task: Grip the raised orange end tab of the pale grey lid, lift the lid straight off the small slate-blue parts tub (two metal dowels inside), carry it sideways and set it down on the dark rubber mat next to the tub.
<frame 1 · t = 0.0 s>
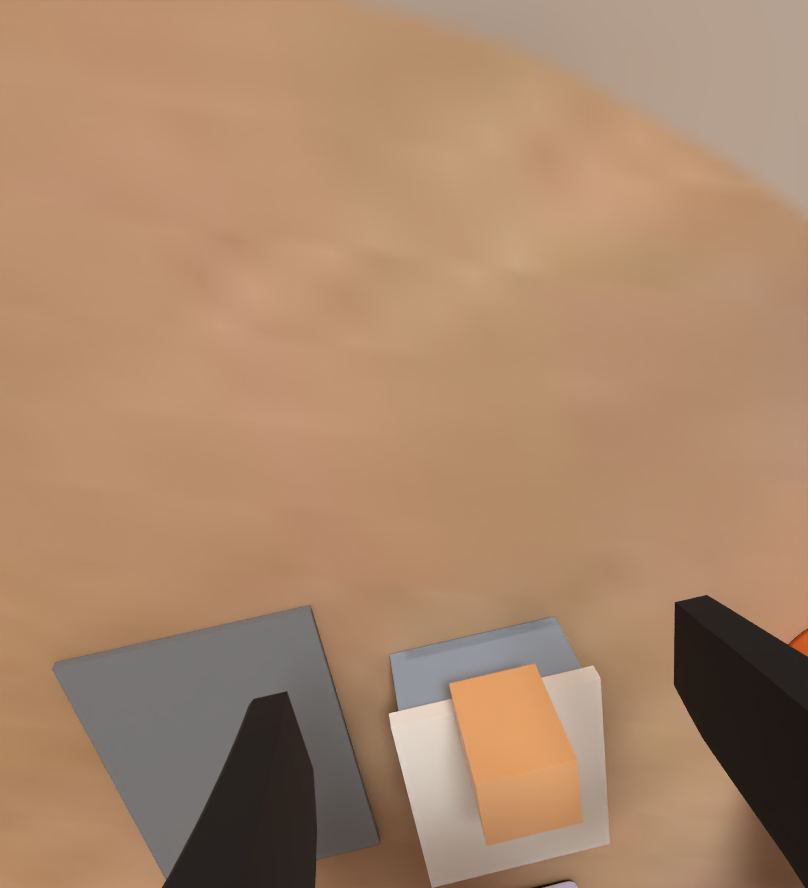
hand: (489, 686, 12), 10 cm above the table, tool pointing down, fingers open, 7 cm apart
tub: (485, 711, 26), on the table
lid: (505, 776, 23), point 3 cm above the table, touching tub
mat: (236, 760, 25), on the table
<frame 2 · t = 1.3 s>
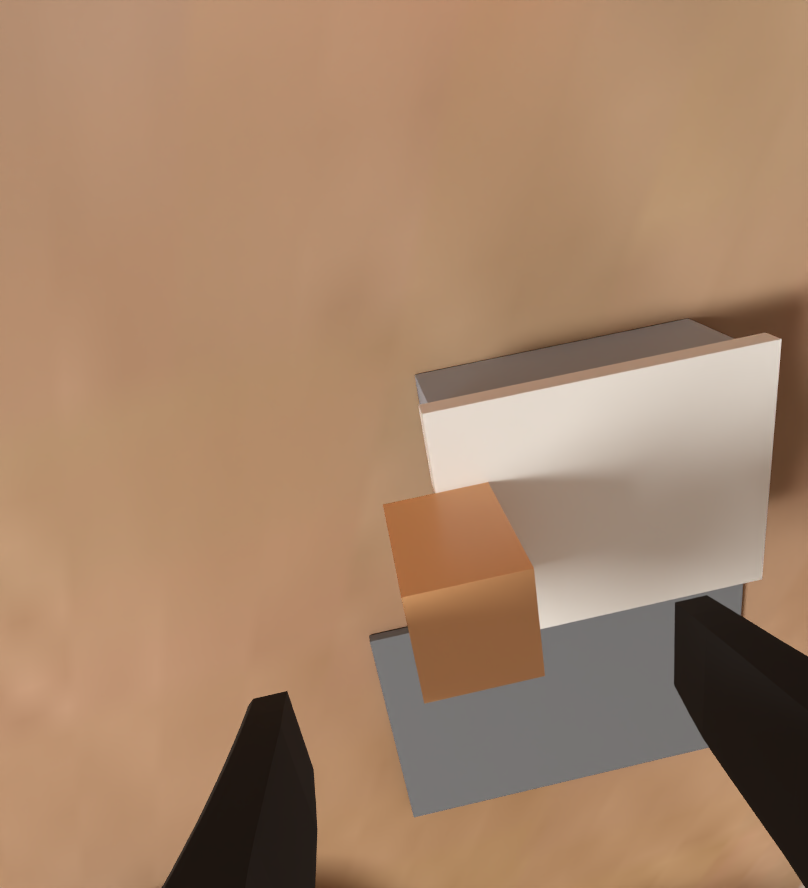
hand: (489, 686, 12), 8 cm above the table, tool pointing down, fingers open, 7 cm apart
tub: (560, 446, 20), on the table
lid: (599, 493, 17), point 3 cm above the table, touching tub
mat: (565, 690, 24), on the table
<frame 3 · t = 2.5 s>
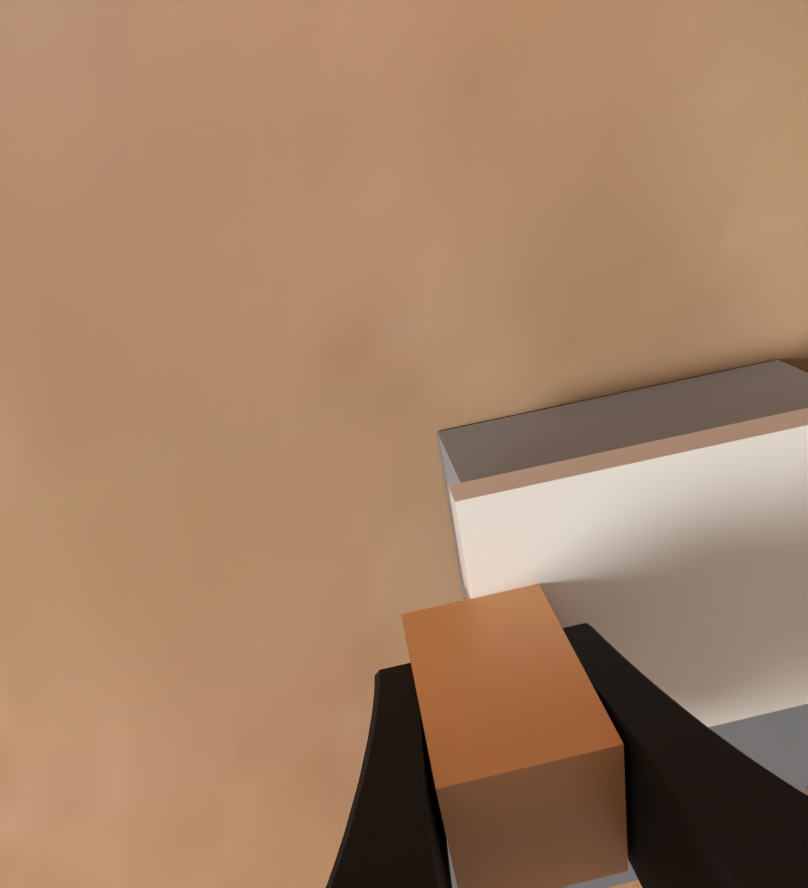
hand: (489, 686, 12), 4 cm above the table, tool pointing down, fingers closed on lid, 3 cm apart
tub: (614, 514, 16), on the table
lid: (676, 588, 13), point 3 cm above the table, touching gripper, tub
mat: (608, 788, 20), on the table
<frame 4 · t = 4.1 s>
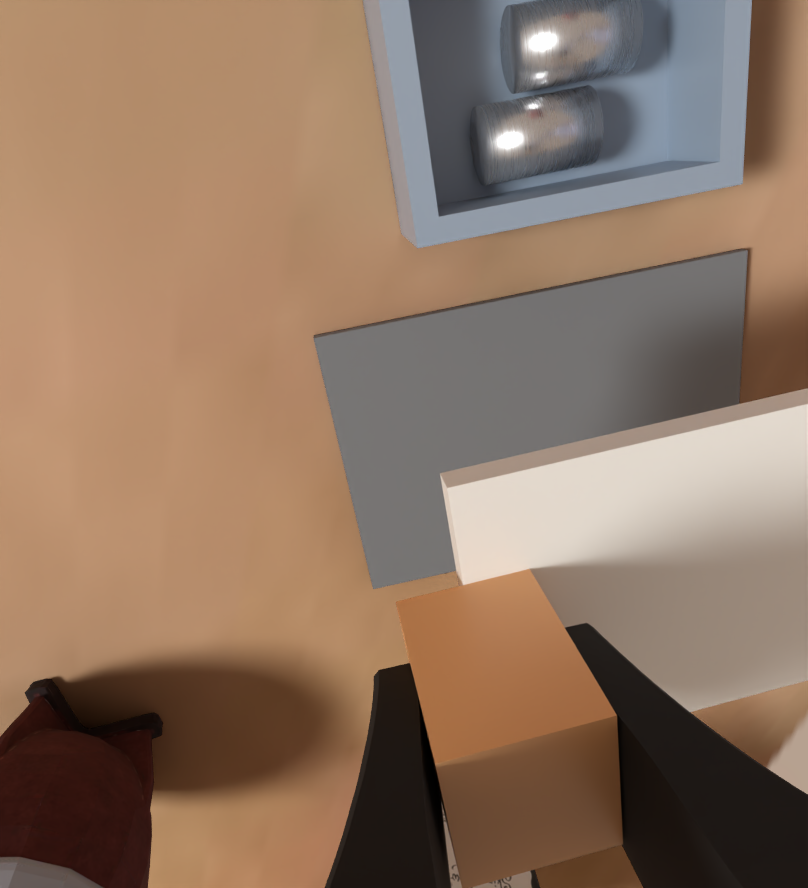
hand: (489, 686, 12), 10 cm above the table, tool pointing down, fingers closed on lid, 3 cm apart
tub: (531, 76, 17), on the table
lid: (662, 573, 14), point 8 cm above the table, touching gripper
mate gourd: (79, 746, 24), on the table
dowel b: (523, 134, 17), resting on tub
mat: (542, 429, 21), on the table
dowel a: (555, 24, 16), point 1 cm above the table, tilted 29°, touching tub
candy bar box: (407, 830, 28), on the table
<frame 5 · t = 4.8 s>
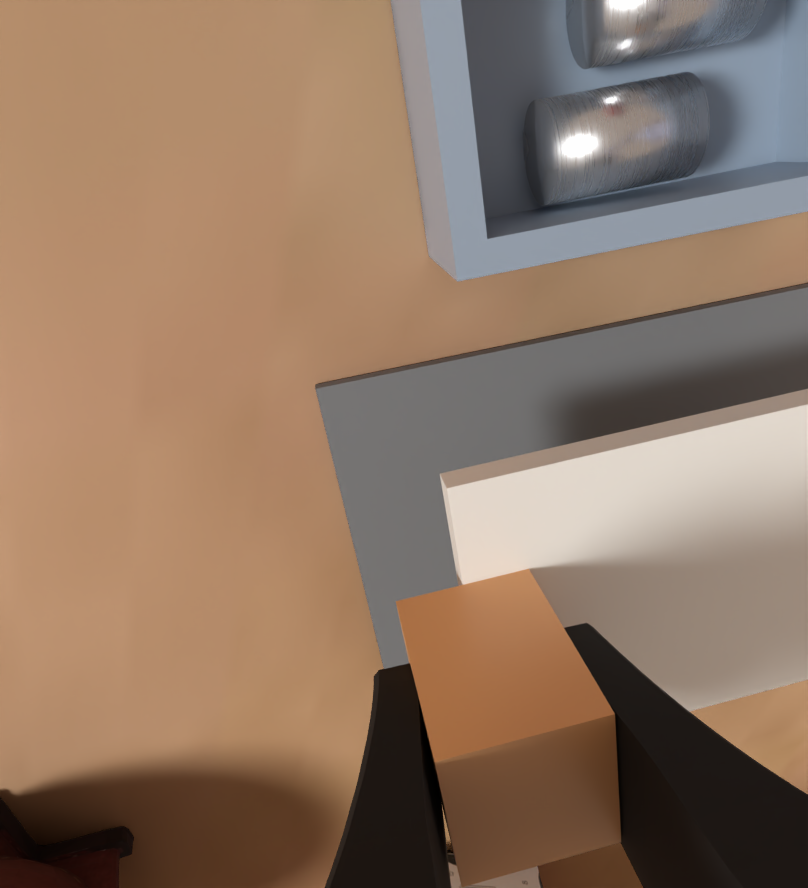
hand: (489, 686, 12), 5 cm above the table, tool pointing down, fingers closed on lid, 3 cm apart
tub: (603, 51, 13), on the table
lid: (661, 573, 14), point 4 cm above the table, touching gripper
mate gourd: (33, 863, 20), on the table
dowel b: (592, 127, 13), point 1 cm above the table, tilted 15°, touching tub
mat: (599, 494, 17), on the table
when the fingers open (3 cm above the table, at t = 5.6 s): lid stays where it is, resting on mat.
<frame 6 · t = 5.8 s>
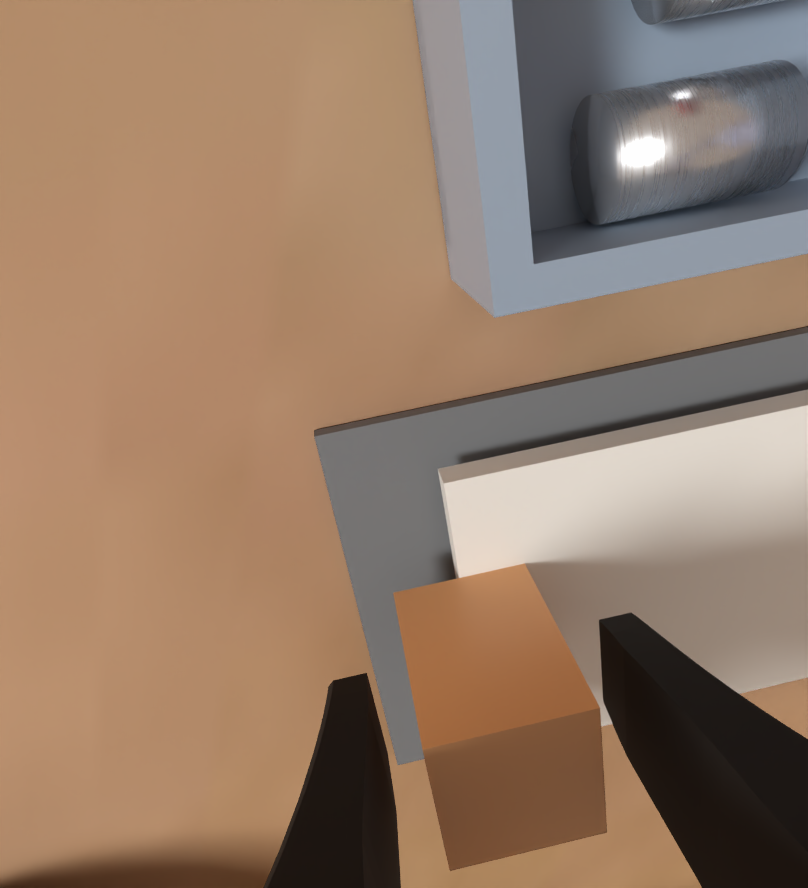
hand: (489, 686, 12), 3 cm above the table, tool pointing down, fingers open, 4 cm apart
tub: (667, 29, 10), on the table
lid: (658, 570, 14), point 1 cm above the table, touching mat
dowel b: (654, 123, 10), point 1 cm above the table, tilted 21°, touching tub
mat: (644, 550, 15), on the table
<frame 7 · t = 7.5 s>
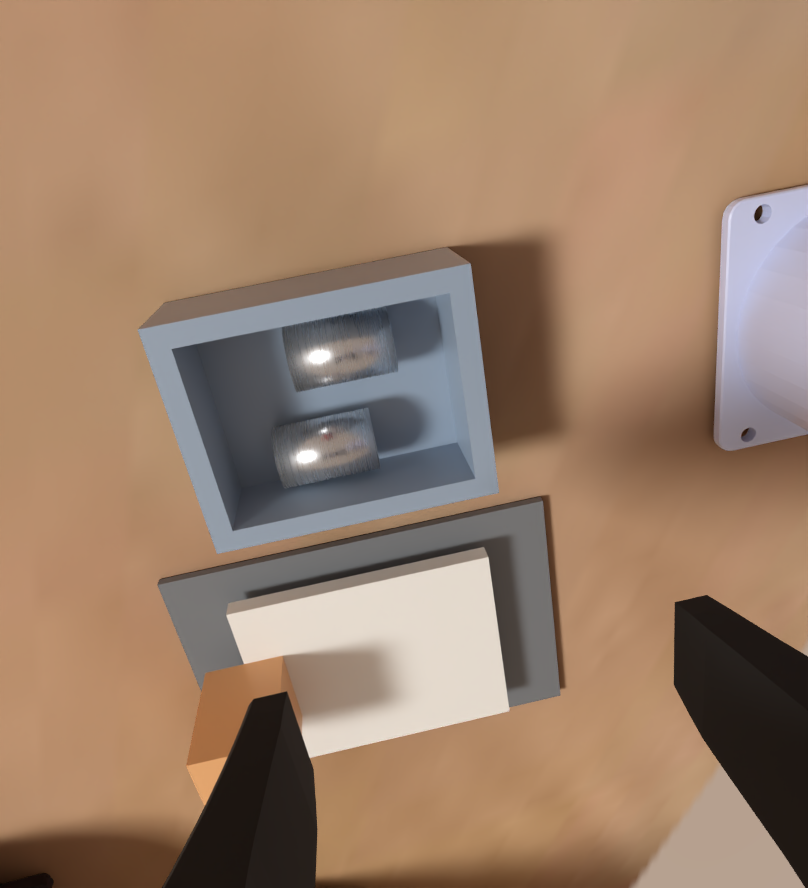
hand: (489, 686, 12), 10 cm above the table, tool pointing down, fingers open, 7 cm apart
tub: (331, 381, 19), on the table
lid: (376, 654, 23), point 1 cm above the table, touching mat
dowel b: (325, 430, 19), point 1 cm above the table, tilted 11°, touching tub
mat: (377, 639, 24), on the table
dowel a: (341, 351, 18), point 1 cm above the table, tilted 20°, touching tub
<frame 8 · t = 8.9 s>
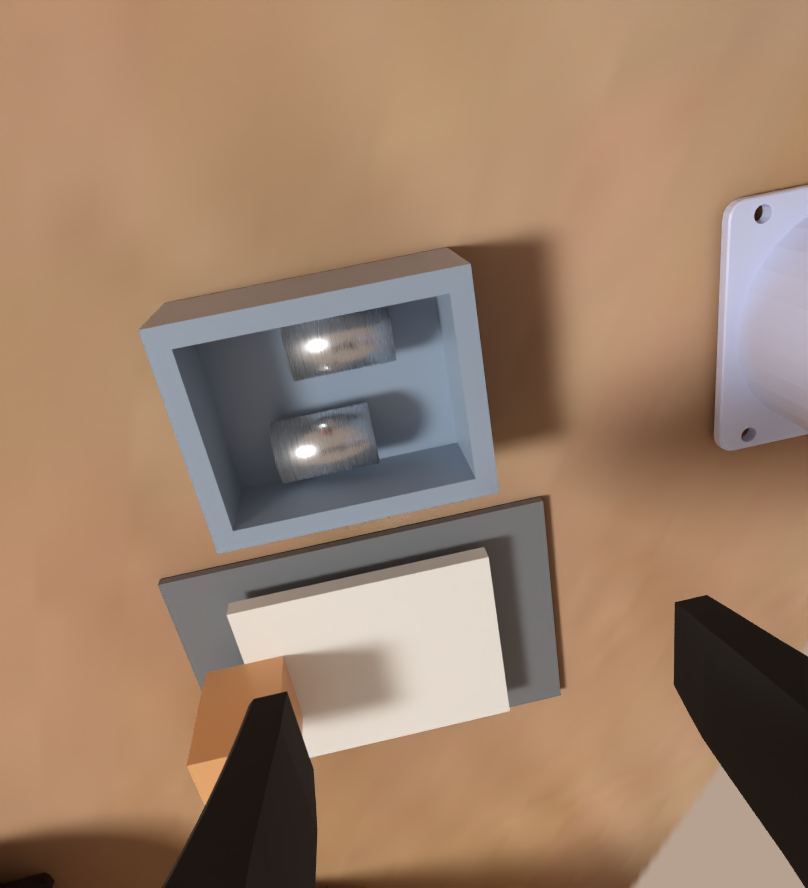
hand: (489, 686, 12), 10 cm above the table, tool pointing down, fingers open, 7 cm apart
tub: (331, 381, 19), on the table
lid: (377, 654, 23), point 1 cm above the table, touching mat
dowel b: (325, 430, 19), resting on tub
mat: (377, 639, 24), on the table
dowel a: (342, 351, 18), point 1 cm above the table, tilted 40°, touching tub
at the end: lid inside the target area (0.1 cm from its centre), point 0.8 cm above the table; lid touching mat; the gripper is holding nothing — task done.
